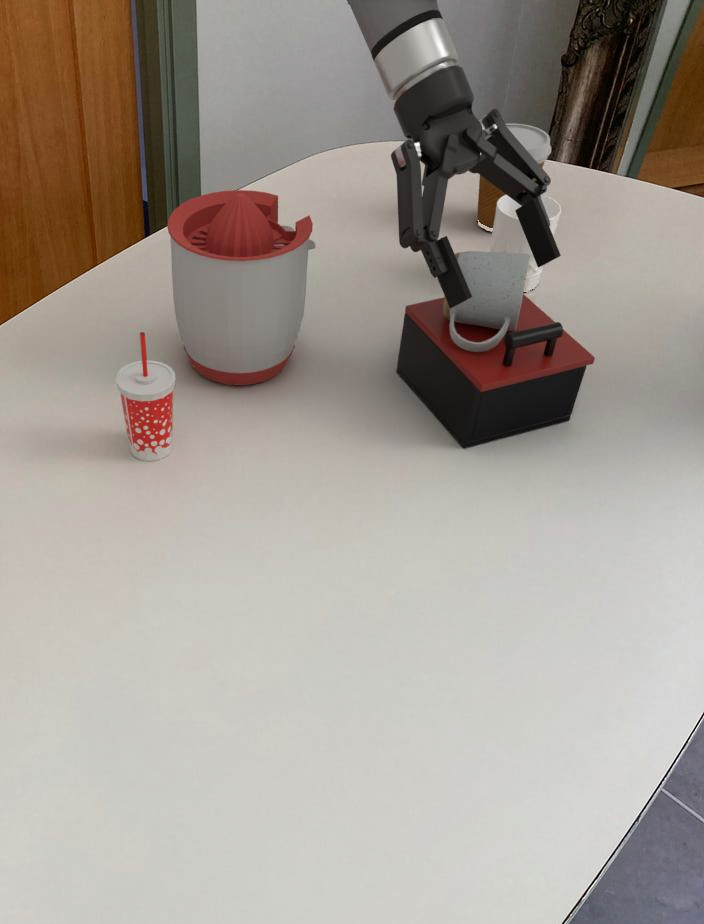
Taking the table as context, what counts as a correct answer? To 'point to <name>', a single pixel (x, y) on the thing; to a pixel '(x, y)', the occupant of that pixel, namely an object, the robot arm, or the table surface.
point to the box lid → (504, 346)
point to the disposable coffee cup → (538, 149)
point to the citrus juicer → (238, 284)
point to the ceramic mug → (489, 295)
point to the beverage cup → (147, 406)
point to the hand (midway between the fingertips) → (506, 282)
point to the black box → (481, 394)
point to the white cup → (519, 233)
